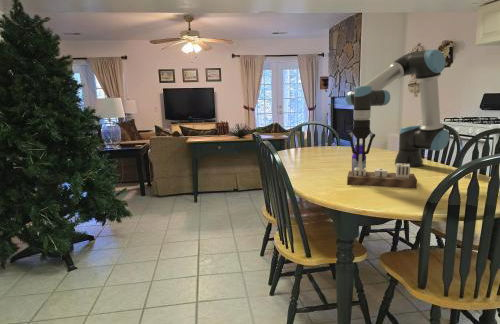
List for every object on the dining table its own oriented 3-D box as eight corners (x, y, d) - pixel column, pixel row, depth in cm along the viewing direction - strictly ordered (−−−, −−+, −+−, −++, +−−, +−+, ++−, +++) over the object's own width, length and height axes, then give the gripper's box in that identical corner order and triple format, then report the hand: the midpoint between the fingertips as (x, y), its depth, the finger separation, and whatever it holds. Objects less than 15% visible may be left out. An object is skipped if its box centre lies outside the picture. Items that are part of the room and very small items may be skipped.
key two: (353, 181, 160) (354, 169, 159) (354, 179, 165) (354, 166, 164) (365, 182, 158) (365, 169, 157) (365, 179, 163) (366, 167, 162)
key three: (396, 178, 153) (397, 165, 152) (395, 175, 158) (396, 162, 157) (409, 179, 151) (410, 165, 150) (408, 176, 156) (408, 163, 155)
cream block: (374, 183, 157) (375, 170, 156) (374, 180, 162) (374, 167, 161) (386, 183, 155) (387, 170, 154) (386, 180, 160) (386, 168, 159)
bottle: (355, 176, 174) (356, 143, 170) (349, 174, 179) (350, 142, 176) (367, 175, 176) (368, 142, 172) (361, 172, 181) (362, 141, 178)
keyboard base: (347, 184, 158) (347, 176, 157) (348, 178, 170) (349, 170, 169) (416, 188, 148) (417, 180, 147) (413, 181, 160) (413, 173, 159)
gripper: (346, 119, 155) (345, 168, 159) (376, 119, 150) (374, 170, 155) (347, 118, 162) (346, 165, 166) (376, 118, 157) (374, 166, 162)
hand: (360, 167), depth 160 cm, fingers closed
